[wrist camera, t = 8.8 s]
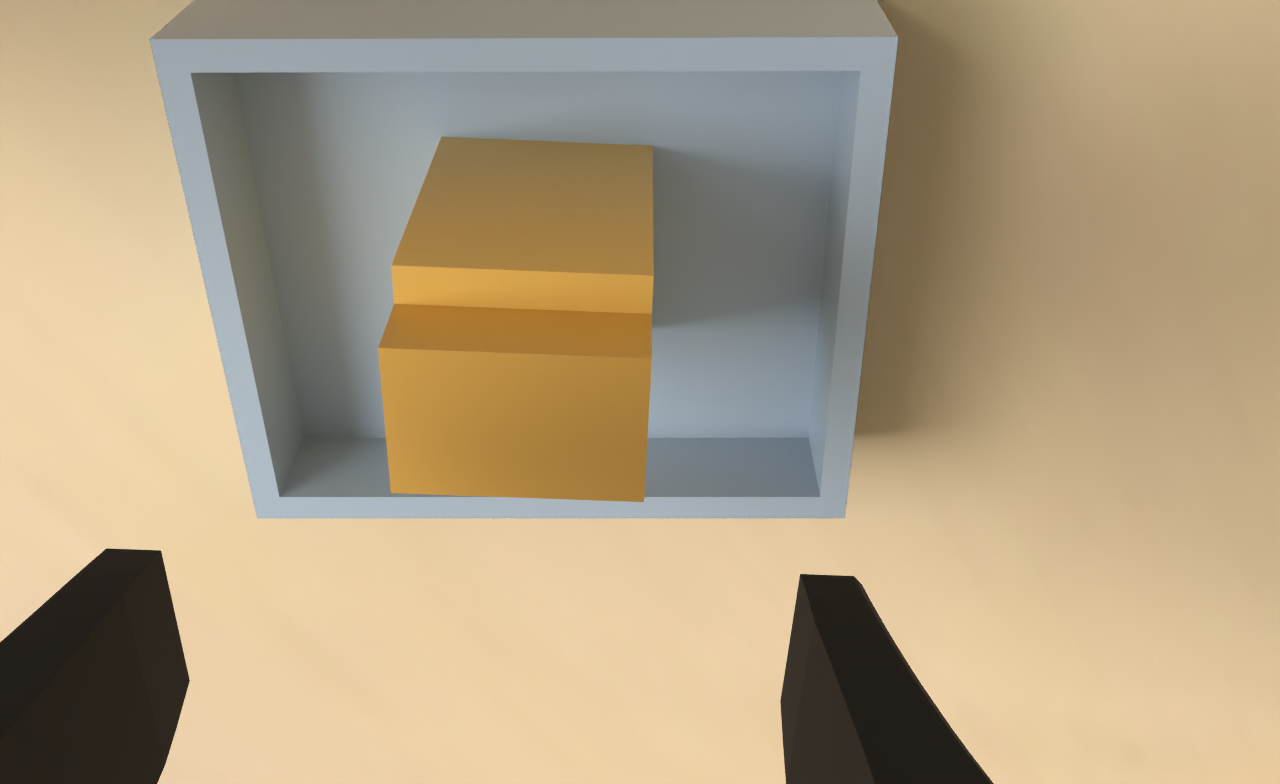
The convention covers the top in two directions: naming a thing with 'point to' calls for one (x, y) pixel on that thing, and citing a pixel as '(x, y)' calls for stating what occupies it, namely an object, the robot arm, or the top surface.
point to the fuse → (523, 323)
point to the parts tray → (540, 111)
